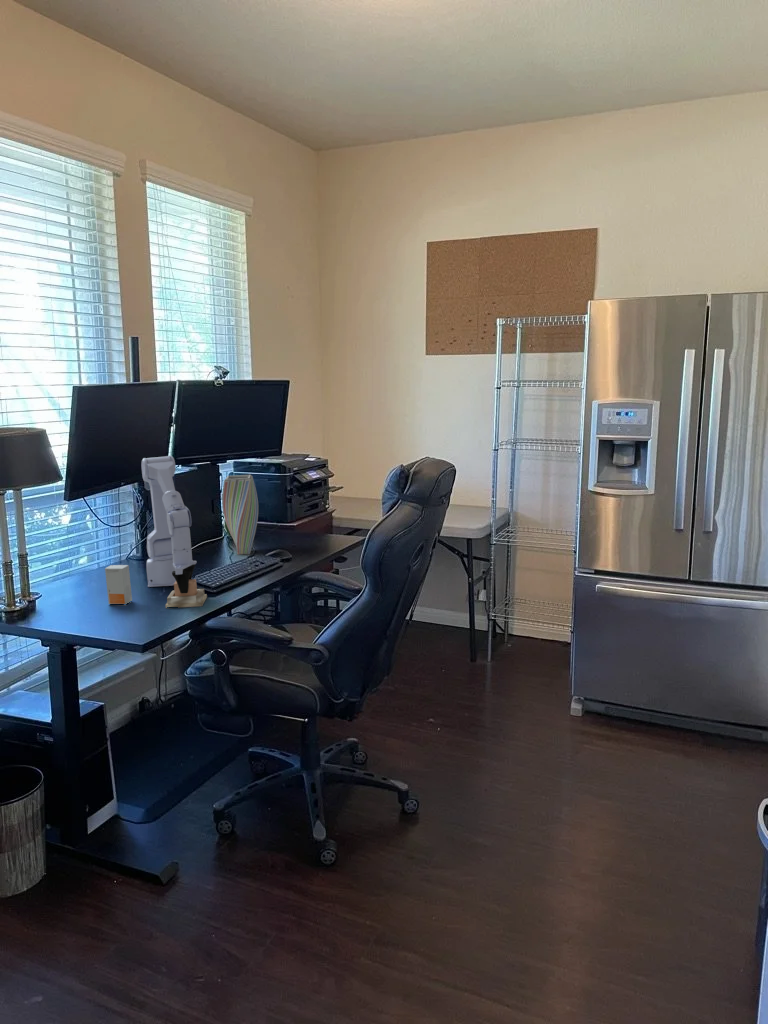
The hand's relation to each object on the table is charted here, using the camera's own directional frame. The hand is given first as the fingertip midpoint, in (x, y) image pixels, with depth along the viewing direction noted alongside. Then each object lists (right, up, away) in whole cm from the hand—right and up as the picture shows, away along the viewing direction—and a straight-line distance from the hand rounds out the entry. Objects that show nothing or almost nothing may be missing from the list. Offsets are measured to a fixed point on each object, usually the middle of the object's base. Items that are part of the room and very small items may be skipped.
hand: (185, 590), depth 232 cm
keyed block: (0, -2, 0) cm, 2 cm away
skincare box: (-21, -4, +2) cm, 22 cm away
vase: (+7, +8, +60) cm, 61 cm away
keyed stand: (0, -4, +1) cm, 4 cm away
